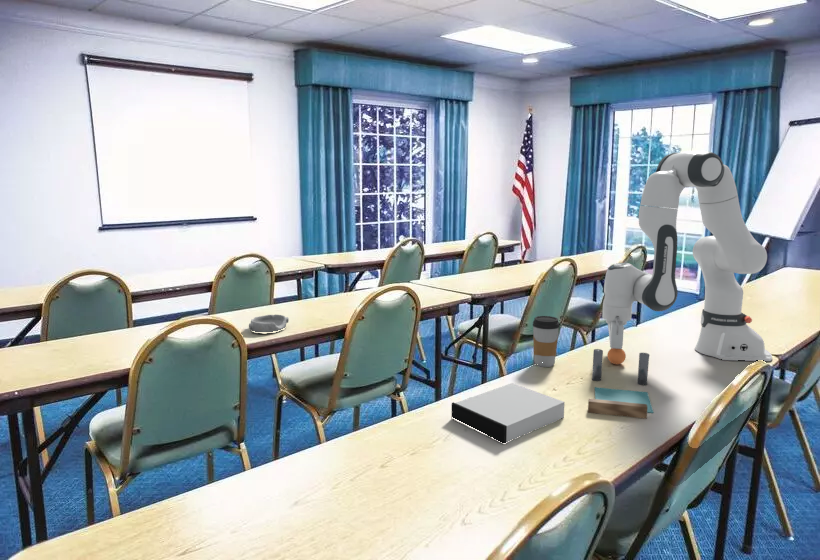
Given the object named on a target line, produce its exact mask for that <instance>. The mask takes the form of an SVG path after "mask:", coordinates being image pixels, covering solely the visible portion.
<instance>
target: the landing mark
mask: <svg viewBox="0 0 820 560" xmlns="http://www.w3.org/2000/svg"><path fill="white" fill-rule="evenodd" d="M594 396H595V397H594V399H599V400H609V401H619V402H629V403H639V404H647V407H648V408H647V414H648V413H649V414H654V409H653V406H652V402H651V400H650V396H649V393H648V391H640V390H639V391H638V390H628V389H618V388H608V387H607V388H606V387H597V386H595V387H594Z"/></svg>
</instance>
